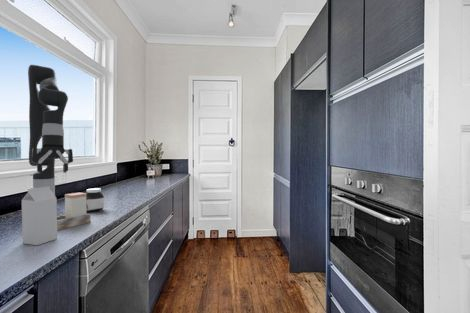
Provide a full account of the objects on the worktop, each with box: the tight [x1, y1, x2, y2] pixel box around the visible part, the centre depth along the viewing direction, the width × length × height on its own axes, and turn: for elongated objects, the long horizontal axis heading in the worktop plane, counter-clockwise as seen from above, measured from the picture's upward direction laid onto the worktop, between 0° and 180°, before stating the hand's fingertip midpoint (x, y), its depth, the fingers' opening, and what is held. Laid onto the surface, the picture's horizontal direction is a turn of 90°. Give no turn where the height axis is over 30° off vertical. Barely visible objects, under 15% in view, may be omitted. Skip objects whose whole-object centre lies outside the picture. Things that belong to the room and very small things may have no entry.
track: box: [57, 213, 92, 231], centre depth 107 cm, size 18×9×6 cm, turn 147°
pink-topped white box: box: [64, 192, 87, 219], centre depth 111 cm, size 6×6×11 cm
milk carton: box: [21, 186, 58, 246], centre depth 88 cm, size 7×7×19 cm
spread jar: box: [85, 187, 105, 213], centre depth 133 cm, size 12×11×12 cm
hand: (52, 172), depth 107 cm, fingers open, 8 cm apart
